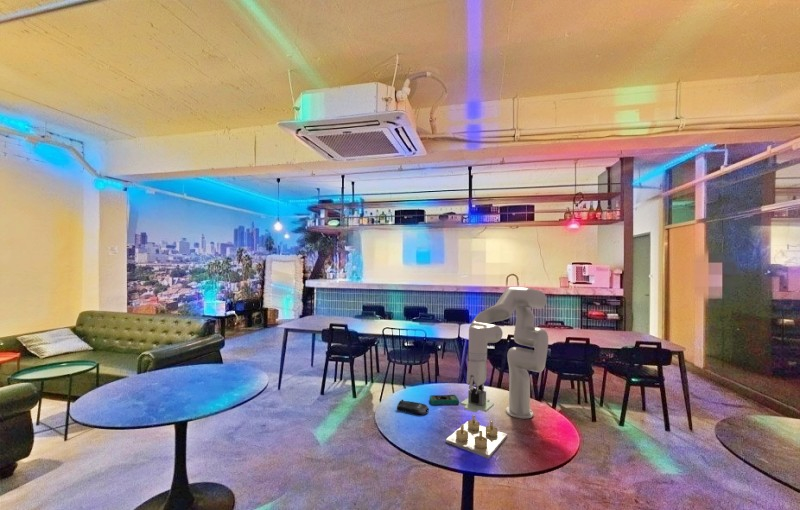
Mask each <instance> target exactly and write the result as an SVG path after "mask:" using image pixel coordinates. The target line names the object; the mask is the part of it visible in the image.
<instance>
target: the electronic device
mask: <svg viewBox="0 0 800 510" xmlns="http://www.w3.org/2000/svg"><path fill="white" fill-rule="evenodd" d="M396 409H397V411H402V412H405V411H406V413H412V414H414V415H417V414H420V415H421V416H423V415H425V414H429V412H430V411H429V406H428V405H427V404H425V403H421V402H417V401H416V402H415V401H409V400H404V399H401V400H400V401H399V402H398V403H397V406H396ZM426 409H427V410H428V412H427V410H426ZM422 414H423V415H422Z"/></svg>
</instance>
